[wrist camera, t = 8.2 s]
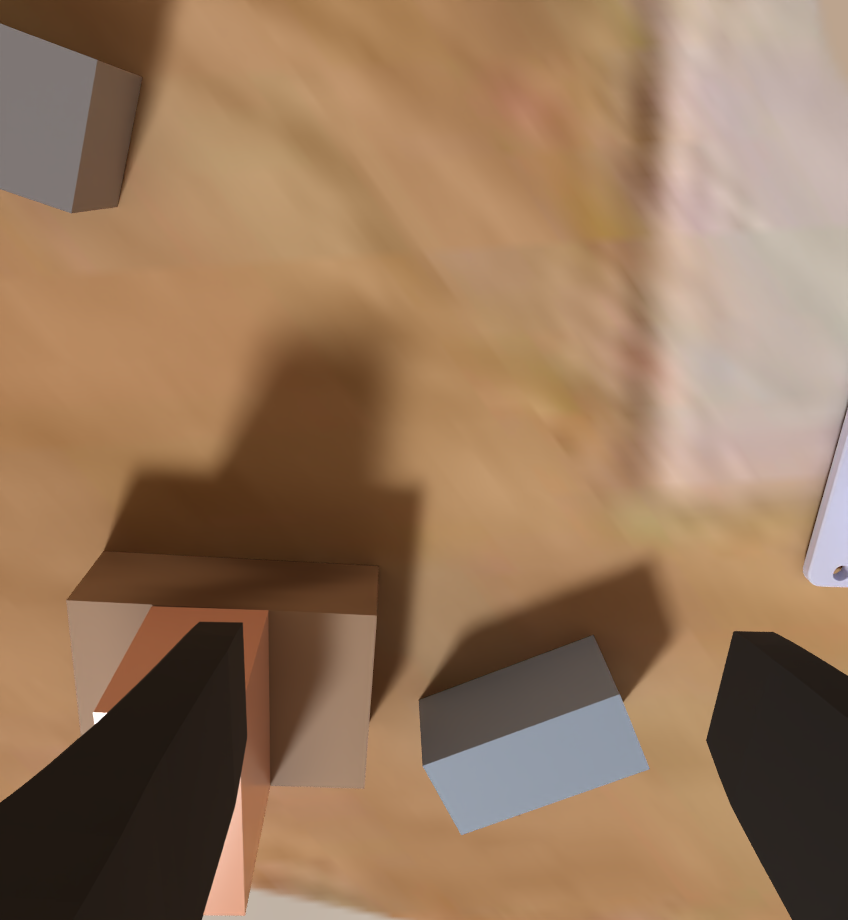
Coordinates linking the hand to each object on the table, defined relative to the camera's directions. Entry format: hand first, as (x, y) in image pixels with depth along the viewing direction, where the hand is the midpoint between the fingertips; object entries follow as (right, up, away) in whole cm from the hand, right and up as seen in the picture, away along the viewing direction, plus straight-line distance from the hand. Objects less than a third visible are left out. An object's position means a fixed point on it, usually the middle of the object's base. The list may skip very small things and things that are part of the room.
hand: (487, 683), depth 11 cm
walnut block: (-7, -2, +12) cm, 14 cm away
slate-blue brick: (+2, -5, +13) cm, 14 cm away
